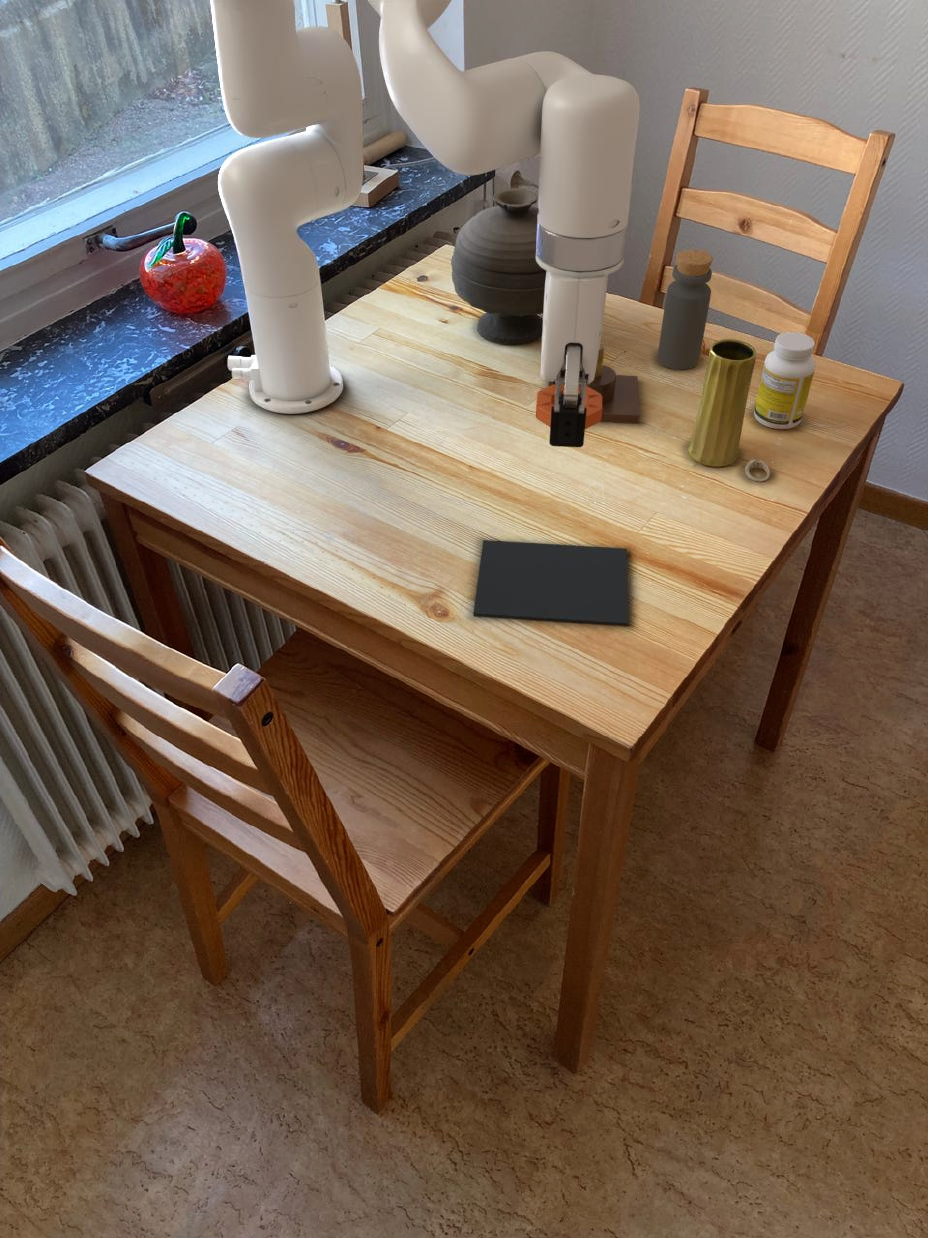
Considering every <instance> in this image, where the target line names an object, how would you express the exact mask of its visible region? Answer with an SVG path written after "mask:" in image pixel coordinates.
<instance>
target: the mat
mask: <svg viewBox="0 0 928 1238" xmlns="http://www.w3.org/2000/svg"><path fill="white" fill-rule="evenodd" d="M479 560H480V561H479V568H478V575H477V582H476V583H477V584H476V590H475V599H474V606H473V613H472V616H473V617H483V618H484V617H486V618H499V619H500V618H501V619H518V620H529V621H530V620H532V621H544V622H545V621H546V622H562V623H577V624H591V625H593V624H595V625H609V626H621V627H622V626H623V627H629V626H630V615H629V613H630V612H629V577H628V576H629V575H628V573H629V572H628V549H627V548H624V547H606V546H590V545H573V544H558V543H541V542H527V541H526V542H523V541H509V540H508V541H506V540H505V541H504V540H492V539H491V540H489V539H483V540H482V546H481V554H480V559H479Z"/></svg>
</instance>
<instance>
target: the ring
mask: <svg viewBox="0 0 928 1238" xmlns="http://www.w3.org/2000/svg"><path fill="white" fill-rule="evenodd" d="M753 468H755V469H762V470H764V471H765V472H766V476H765V477H763V478H757V477H754V476H753V475H752V474H751V473H750V470H753ZM743 471H744V474H745V475H746V477H747V478H748V479H749V480H751V481H753V482H758V483H759V482H760V483H761V482H766V481H767V480H769V478H770V476H771V470H770V468H769V466H768V465H767V463H765V461H763V460H760V459H758V460H756V458H754V459H750V460H749V461H748V462H747V463H746V464H745V466H744V469H743Z"/></svg>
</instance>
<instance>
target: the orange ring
mask: <svg viewBox="0 0 928 1238" xmlns="http://www.w3.org/2000/svg"><path fill="white" fill-rule="evenodd" d="M564 387H565V385H562V384H561V394H564ZM555 389H556V384H553V385H551V386H549V387H548V386H547V387H544V388H543V389H540V390H538V392H537V393H536V406H535V418H536V420H538V421H539V422H541V423H543V424H544V425H546V426H548V427H549V428H550V425H551V408H552V406H554V405H555ZM578 394H580V385H579V387H578ZM584 408H587V411H586V422H585V430H587V429H589V428H590V427H593V426H595V425H597V424H599V423H600V422H602V421H601V416H602V395H601V394H600V393H598V392H596V391H595V390H593V389H591V388H589V387H588V386H586V394H585V407H584Z"/></svg>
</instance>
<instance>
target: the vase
mask: <svg viewBox="0 0 928 1238" xmlns="http://www.w3.org/2000/svg"><path fill="white" fill-rule="evenodd" d="M709 347H710V348H709V352H708V353H709V354H708V359H707V366H706V371H705V375H704V379H703V384H702V390H701V395H700V400H699V405H698V409H697V413H696V415H695V416H696V417H695V420H694V423H693V428H692V433H691V438H690V442H689V444H688V447H687V452H688V455H689V456H690V458H691V459H692V460H694V461H695V462H696V463H698V464H700V465H704V466H707V467H714V468H720V467H721V468H722V467H727V466H729V465H732V464H733V463H734V462H735V461H736V460H738V457H739V450H740V443H741V437H742V431H743V426H744V421H745V420H744V419H745V414H746V410H747V409H746V408H747V403H748V397H749V394H750V393H749V392H750V387H751V384H752V378H753V373H754V368H755V364H756V359H757V350H756V347H754V346H753V345H751V344H750V343H748V342H746V341H743V340H740V339H734V338H724V339H723V338H722V339H720V340H717V341H715V342H713V343H712V344H711V345H710V346H709Z"/></svg>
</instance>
